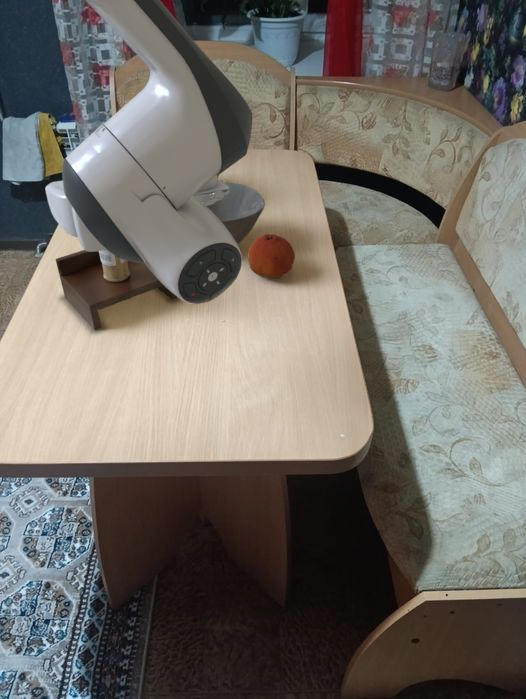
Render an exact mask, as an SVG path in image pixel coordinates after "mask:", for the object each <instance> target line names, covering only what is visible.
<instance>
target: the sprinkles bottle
mask: <svg viewBox="0 0 526 699" xmlns="http://www.w3.org/2000/svg"><path fill="white" fill-rule="evenodd" d="M99 254H100V259H101V262H102V267H103V271H104V274H103V276H104V278H105V279H106V280H108V281H111V282H119V281H123V280H125V279H127V278H128V277H129V275H130V271H129V268H128V262H127V260H123V259H120V258H118V257H116V256H115V255H113V254H112V253H111V252H110V251H99Z"/></svg>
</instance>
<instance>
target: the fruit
mask: <svg viewBox="0 0 526 699" xmlns="http://www.w3.org/2000/svg"><path fill="white" fill-rule="evenodd" d="M247 252H248V253H247V262H248V265H249V268H250V270H251V271H252V272H253V273H254V274H255V275H256V276H260V277H264V278H268V279H269V278H270V279H275V278H280V277H282V276H284V275H286V274H288V273H289V272H290V271H291V270H292V269H293V266H294V263H295V259H296V256H295V254H296V253H295V250H294V248H293V246H292V244H291V243H290V241H289V240H287V239H286V238H285V237H283V236H281V235H278V234H276V233H265V234H263V235H261V236H259V237H257V238H255V239H254V240H253V241H252V242H251V244H250V246H249V249H248V251H247Z"/></svg>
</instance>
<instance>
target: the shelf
mask: <svg viewBox="0 0 526 699" xmlns="http://www.w3.org/2000/svg"><path fill="white" fill-rule="evenodd" d="M54 260H55V263H56V268H57V272H58V276H59V279H60V283H61V287H62V290H63V295H64V299H65V300H66V301H67V302H68V303H69V304H70V306H72V307H73V308H74V310H75V311H76V312H77V313H78V314H79V315H80V317H82V318H83V320H85V322H86V323H87V324H88V325H89V326H90V327H91V328H92V329H93V330H94V331H97V330H99V329H100V330H101V329H102V325H101V319H100V315H99V314H100V313H99V311H101V310H103V309H106V308H109V307H112V306H114V305H117V304H120V303H122V302H125V301H127V300H130V299H132V298H135V297H137V296H140V295H143V294H146V293H148V292H151V291H154V290H156V289H158V290H159V291H161V293H163V294H164V295H165V296H166V297H167V298H169V299H170V300H171V301H173V300H175V299H178V297H177V296H176V295H174V294H173V293H172V292H171V291H170V290H169V289H167V288H166V287H165V286H164V285H163V284H162V283H161V282H160V281H159V280H158V279H157V278H156V277H155V275H154V274H153V273H152V272H151V271H150V270H149V268H148V267H147V266H146V264H145V263H135V262H130V261H127V262H128V268H129V271H130V275H129V277H128V278H127V279H125V280H123V281H119V282H111V281H108V280H106V279H105V278H104V276H103V274H104V271H103V267H102V262H101V259H100V254H99V251H95V252H88V251H85V250H84V249H82V250H80V251H76V252H73V253H70V254H67V255H64V256H61V257H58V258H55V259H54Z"/></svg>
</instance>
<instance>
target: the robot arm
mask: <svg viewBox="0 0 526 699" xmlns="http://www.w3.org/2000/svg"><path fill="white" fill-rule="evenodd" d="M84 1H85V2H86V3H87V4H88V5H89V6H90V7H91V8H92V9H93V10H94V11H95V12H96V13H97V14H98V15H99V17H100V18H101V19H102V20H104V21H105V23H106V24H107V25H108V26H109V27H110V28H111V29H112V30H113V31H114V32H115V33H116V35H118V36H119V38H121V40H123V41H124V43H126V45H127V46H129V48H130V49H131V50H132V52H134V53H135V55H137V56H138V57H139V58H140V59H141V60H142V61H143V63H144V64H145V65H147V67H148V70H149V72H150V73H149V79H148V81H147V83H146V85H145V86H144V88H142V89H141V90H140V91H139V92H138V93H137V94H136V95H135V96H134V97H133V98H131V99H130V100H129V101H128V102H127V103H126V104H124V106H122V107H121V108H120V109H119V110H118V111H117V112H116V113H114V114H113V115H112V116H111V117H110V118H109V119H108V120H107V121H105V122H104V123H103V124H101V125H100V126H98V127H97V128H96V129H95V130H94V131H93V132H92V133H90V134H89V135H88V136H87V137H86V138H85V139H84V140H83V141H82V142H80V144H78V145H77V146H76V147H75V148H74V149H73V150H72V151H71V152H70V153H69V154H68V155H67V156H66V157H65V158H64V159H63V161H62V170H61V172H62V173H61V175H62V176H61V178H62V180H57V181H52V182H50V183H48V184H47V185H46V186H45V194H46V199H47V203H48V206H49V210H50V213H51V216H53V218H54V220H55V221H56V223H57V224H58V225H59V226H60V227H61V229H62V230H63V231H64V232H66V234H68V235H70V236H72V237H74V238H78V241H79V244H80V246H81V248H82V250H85V251H88V252H95V251H110V252H111V253H112V254H113V255H115V256H116V257H118V258H120V259H123V260H127V261H130V262H135V263H145V264H146V266H147V267H148V268H149V270H150V271H151V272H152V273H153V274H154V275H155V277H156V278H157V279H158V280H159V281H160V282H161V283H162V284H163V285H164V286H165V287H166V288H167V289H169V290H170V291H171V292H172V293H173V294H174V295H176V296H177V299H179V300H181V301H182V302H185V303H187V304H191V305H200V304H201V305H202V304H205V303H208V302H209V303H210V302H211V301H214V300H215V299H216V298H218V297H219V296H220V295H222V294H223V293H225V291H227V290H228V289H229V288H230V287H231V286H232V285H233V284H234V282H235V281H236V280H237V278H238V276H239V274H240V271H241V268H242V265H243V255H242V251H241V248H240V247H239V244H237V243H236V241H235V240H234V238H233V237H232V235H231V234H230V232H229V231H228V230H227V228H226V227H225V226H224V224H223V223H222V222H221V221H220V220H219V219H218V217H217V216H216V215H215V214H214V213H213V212H212V211H211V210H210V209H209V208H208V207H207V206H208V205H211V204H214V203H215V202H216V201H219V200H222V199H223V198H224V196H225V195H227V194H229V192H230V189H229V186H228V185H226V184H225V183H224V182H225V181H222V180H220V179H218V180H217V175H219V176H220V175H221V174H223V172H225V171H226V170H228V169H229V168H230V167H231V166H233V165H234V164H236V163H237V162H238V161H239V162H240V161H241V159H243V158H244V157H246V155H247V154H248V149H249V147H250V146H249V145H250V142H251V137H252V129H253V128H252V127H253V112H252V110H251V108H250V105H249V104H248V101H247V100H246V97H245V96H244V94H243V93H242V91H241V90H240V88H239V87H238V86H237V84H236V83H235V82H234V81H233V79H232V78H231V77H230V76H229V75H228V74H227V73H226V72H225V71H224V70H223V69H222V68H220V67H219V66H218V65H216V63H215V62H213V61H212V60H211V59H210V57H208V55H207V54H206V53H205V52H204V51H203V50H202V48H200V47H199V45H198V44H197V43H196V42H195V41H194V39H193V37H191V36H190V35H189V33H188V32H187V31H186V30H185V28H183V26H182V25H181V24H180V22H179V21H178V20H177V19H176V18H175V17H174V16H173V14H172V13H171V11H169V9H168V8H167V7H166V5H164V3H163V2H162V1H161V0H84Z"/></svg>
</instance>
